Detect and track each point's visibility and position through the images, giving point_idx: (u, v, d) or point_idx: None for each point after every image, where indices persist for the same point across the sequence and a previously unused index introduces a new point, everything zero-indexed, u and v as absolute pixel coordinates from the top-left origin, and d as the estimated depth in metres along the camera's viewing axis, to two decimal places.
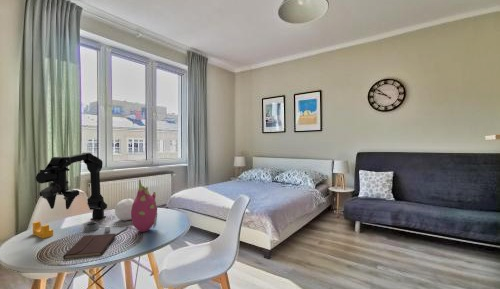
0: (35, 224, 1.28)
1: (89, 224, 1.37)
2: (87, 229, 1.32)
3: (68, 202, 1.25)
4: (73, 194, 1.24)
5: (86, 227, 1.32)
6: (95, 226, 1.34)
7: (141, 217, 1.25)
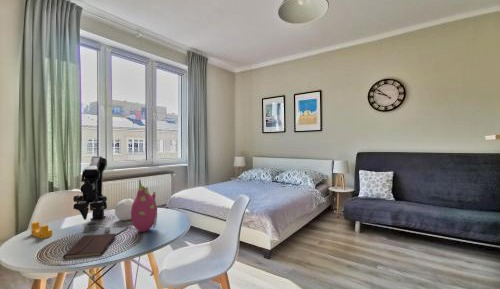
0: (34, 224, 1.27)
1: (89, 224, 1.37)
2: (87, 229, 1.32)
3: (82, 213, 1.30)
4: (75, 207, 1.26)
5: (86, 227, 1.32)
6: (95, 226, 1.34)
7: (141, 217, 1.25)
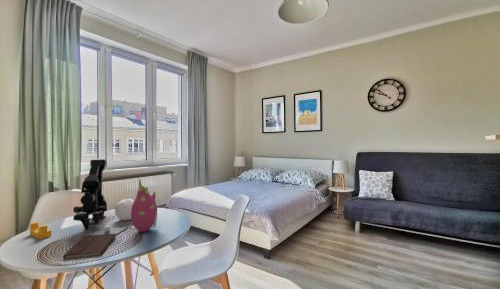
0: (32, 225, 1.27)
1: (89, 224, 1.37)
2: None
3: (83, 223, 1.31)
4: (75, 218, 1.26)
5: None
6: (95, 226, 1.34)
7: (141, 217, 1.25)
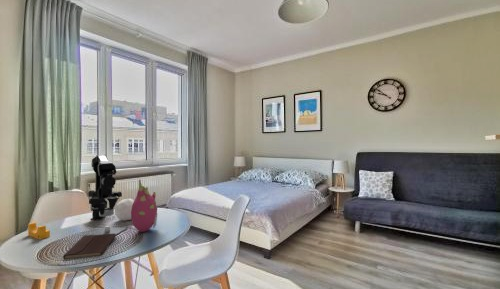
0: (31, 225, 1.26)
1: None
2: None
3: (99, 208, 1.25)
4: (91, 202, 1.21)
5: None
6: (110, 211, 1.29)
7: (141, 217, 1.25)
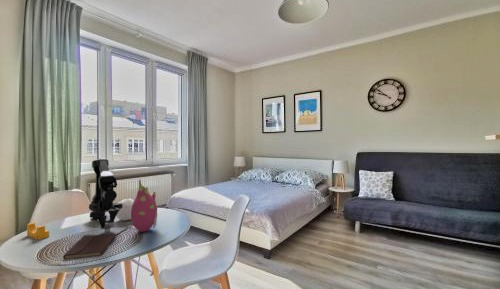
0: (30, 225, 1.26)
1: (105, 222, 1.32)
2: None
3: (100, 221, 1.26)
4: (92, 215, 1.21)
5: None
6: (111, 224, 1.29)
7: (141, 217, 1.25)
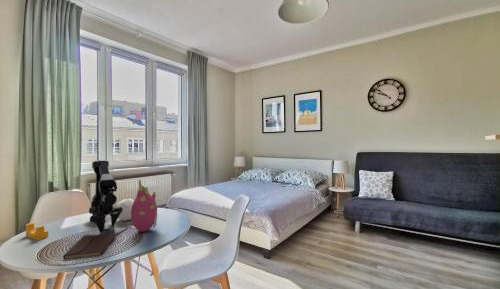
0: (28, 226, 1.25)
1: None
2: (103, 232, 1.27)
3: (98, 226, 1.24)
4: (92, 219, 1.21)
5: None
6: (111, 229, 1.29)
7: (141, 217, 1.25)
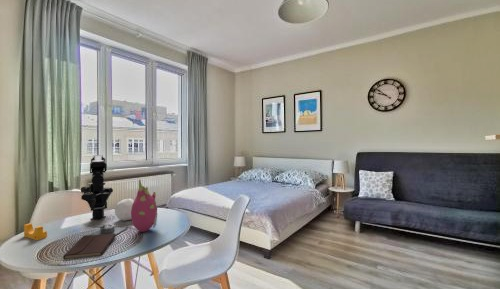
0: (27, 226, 1.25)
1: None
2: (103, 232, 1.27)
3: (89, 204, 1.34)
4: (83, 197, 1.30)
5: (102, 230, 1.27)
6: (111, 229, 1.29)
7: (141, 217, 1.25)
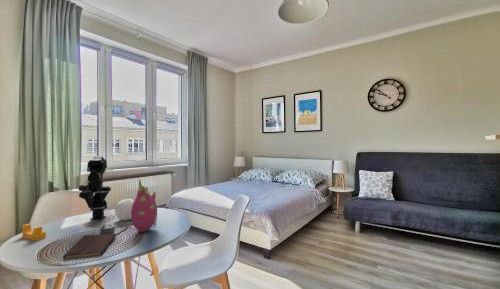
0: (25, 226, 1.24)
1: None
2: (103, 232, 1.27)
3: (87, 201, 1.36)
4: (81, 195, 1.32)
5: (102, 230, 1.27)
6: (111, 229, 1.29)
7: (141, 217, 1.25)
